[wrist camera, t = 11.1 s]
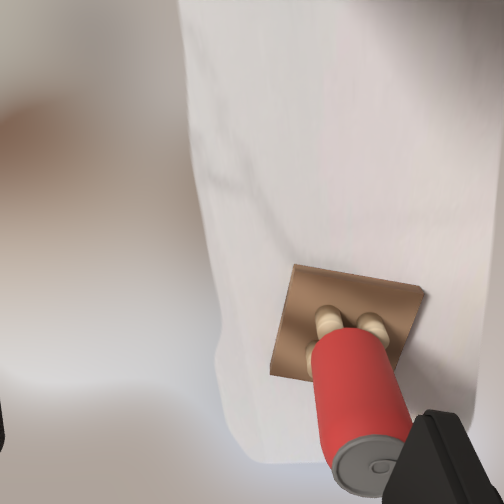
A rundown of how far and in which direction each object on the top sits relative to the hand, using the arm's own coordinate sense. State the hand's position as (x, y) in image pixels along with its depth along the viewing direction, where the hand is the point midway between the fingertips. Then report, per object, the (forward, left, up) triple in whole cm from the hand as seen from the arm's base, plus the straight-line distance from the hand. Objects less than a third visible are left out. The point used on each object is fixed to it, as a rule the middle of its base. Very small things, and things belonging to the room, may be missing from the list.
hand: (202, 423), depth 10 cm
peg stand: (+16, +11, -30) cm, 35 cm away
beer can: (+15, +11, -25) cm, 32 cm away
